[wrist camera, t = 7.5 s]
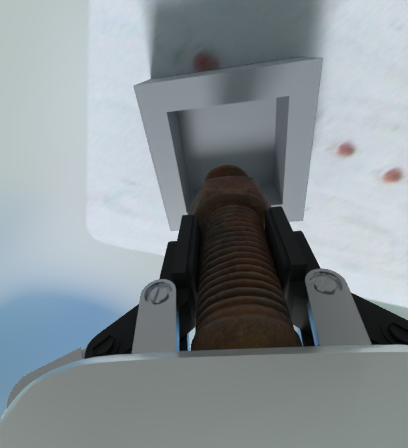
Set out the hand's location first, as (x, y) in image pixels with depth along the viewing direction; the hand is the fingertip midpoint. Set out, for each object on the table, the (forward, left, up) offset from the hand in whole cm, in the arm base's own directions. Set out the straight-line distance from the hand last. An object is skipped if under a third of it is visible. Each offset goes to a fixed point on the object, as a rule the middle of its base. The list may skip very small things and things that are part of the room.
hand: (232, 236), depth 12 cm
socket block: (0, 0, -16) cm, 16 cm away
